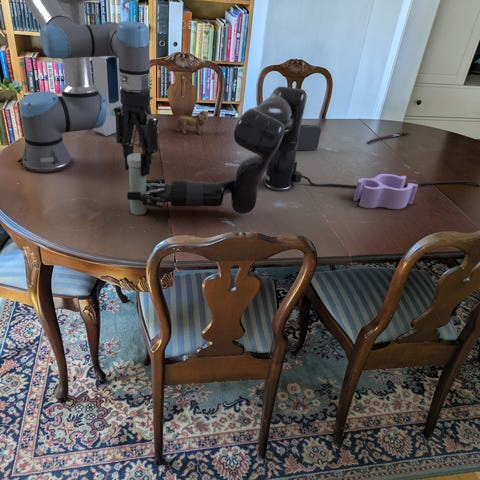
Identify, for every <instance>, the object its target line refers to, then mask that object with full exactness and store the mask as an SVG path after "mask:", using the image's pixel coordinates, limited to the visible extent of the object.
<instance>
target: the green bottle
mask: <svg viewBox="0 0 480 480" xmlns="http://www.w3.org/2000/svg"><path fill="white" fill-rule="evenodd" d="M128 179H129V180H128V181H129V185H130V190H129V192H141V193H142V192H146V180H147V175H146V176H144V177H143V176H141V167H139V168H135V167H131V166H129V170H128ZM129 203H130V206H129V207H130V213H131V214H132V215H136V216H141V215H144V214H146V213H147V211H148V210H147V207H148V206H147V205H143V202H141V200H129Z"/></svg>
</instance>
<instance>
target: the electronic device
mask: <svg viewBox="0 0 480 480" xmlns="http://www.w3.org/2000/svg"><path fill="white" fill-rule="evenodd" d="M91 59H92V61H91V63H92V77H93V85H95V86H96V87H97V88H98V92H99V93H101V94H102V95H103V96H104V98H105V103H106V108H107V114H106V120H105V122H104V124H103V125H102V126H101V127H99V128H95V129H92V131H94V133H96V134H99V135H102V136H105V137H107V136H110V135H112V134H113V135H114V134H116V116H115V113H114V108H116V107H119V106H122V105H123V104H122V103H121V101H120V89H121V87H120V77H119V59H118V58H117V57H116V56H104V57H91Z"/></svg>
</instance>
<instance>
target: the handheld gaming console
mask: <svg viewBox="0 0 480 480" xmlns="http://www.w3.org/2000/svg"><path fill="white" fill-rule="evenodd" d="M321 133H322V127H321V126H319V125H318V124H301V128H300V134H299V140H298V146H297V151H312V150H317V148H318V147H319V144H320V137H321Z"/></svg>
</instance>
